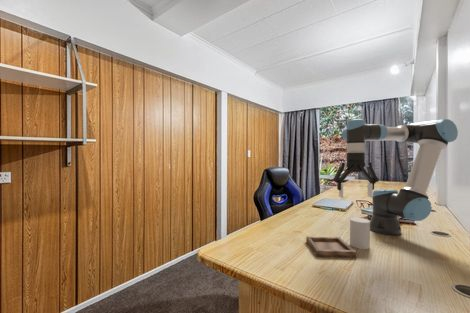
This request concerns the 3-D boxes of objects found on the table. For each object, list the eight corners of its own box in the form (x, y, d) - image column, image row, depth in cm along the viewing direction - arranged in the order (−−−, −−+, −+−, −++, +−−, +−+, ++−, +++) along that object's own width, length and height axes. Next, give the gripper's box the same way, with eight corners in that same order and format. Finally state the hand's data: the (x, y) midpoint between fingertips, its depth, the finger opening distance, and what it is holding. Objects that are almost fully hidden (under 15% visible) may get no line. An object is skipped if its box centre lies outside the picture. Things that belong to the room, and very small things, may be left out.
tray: (339, 242, 108) (339, 237, 108) (356, 257, 92) (356, 251, 92) (306, 241, 108) (306, 236, 108) (317, 256, 92) (317, 250, 92)
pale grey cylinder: (372, 249, 100) (372, 223, 100) (353, 248, 101) (353, 222, 101) (365, 242, 108) (366, 218, 107) (347, 241, 109) (347, 217, 109)
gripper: (377, 152, 108) (377, 195, 109) (325, 152, 109) (325, 195, 109) (387, 151, 101) (387, 198, 101) (332, 152, 101) (332, 198, 102)
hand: (355, 197), depth 105 cm, fingers open, 13 cm apart
